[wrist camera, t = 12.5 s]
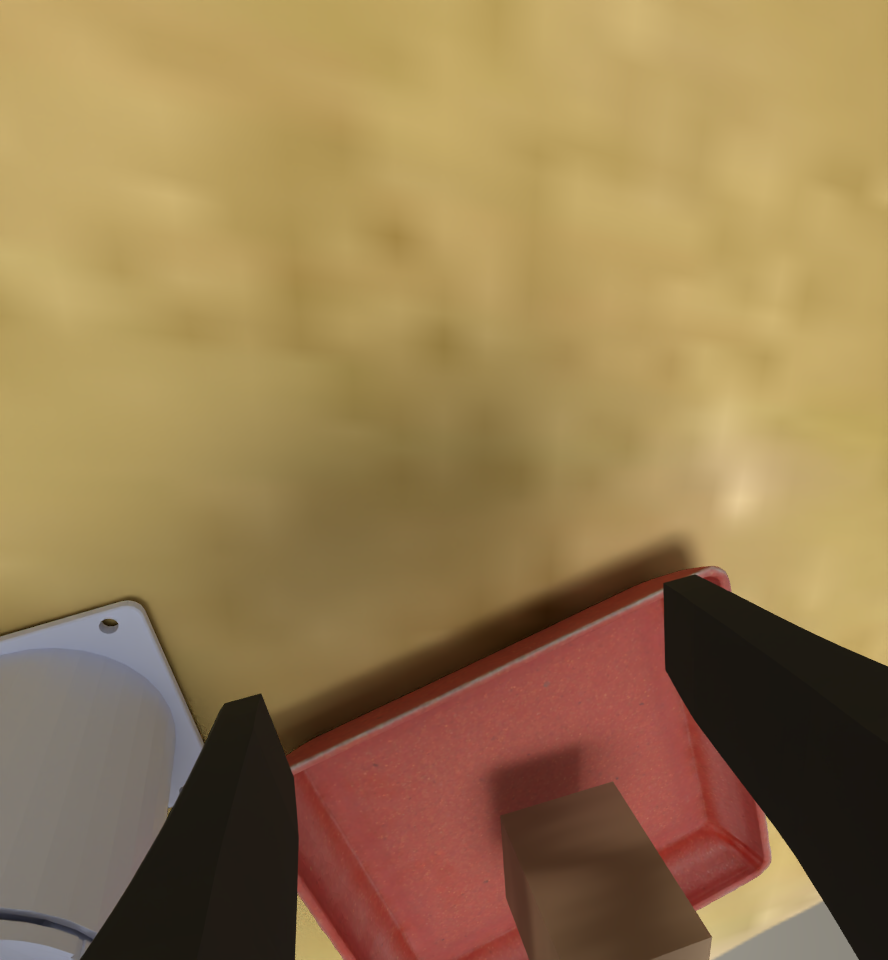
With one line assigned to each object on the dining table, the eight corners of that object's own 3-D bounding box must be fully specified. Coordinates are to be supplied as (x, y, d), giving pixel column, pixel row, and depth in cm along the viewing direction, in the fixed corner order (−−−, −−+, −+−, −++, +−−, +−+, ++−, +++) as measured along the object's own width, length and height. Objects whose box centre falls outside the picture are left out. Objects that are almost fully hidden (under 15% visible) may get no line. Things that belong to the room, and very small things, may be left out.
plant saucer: (675, 521, 26) (732, 562, 23) (731, 814, 34) (778, 872, 31) (229, 725, 24) (228, 799, 21) (400, 987, 32) (417, 1067, 29)
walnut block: (505, 897, 26) (573, 1076, 21) (500, 815, 24) (572, 988, 19) (610, 862, 27) (701, 1025, 22) (612, 781, 25) (711, 936, 20)
